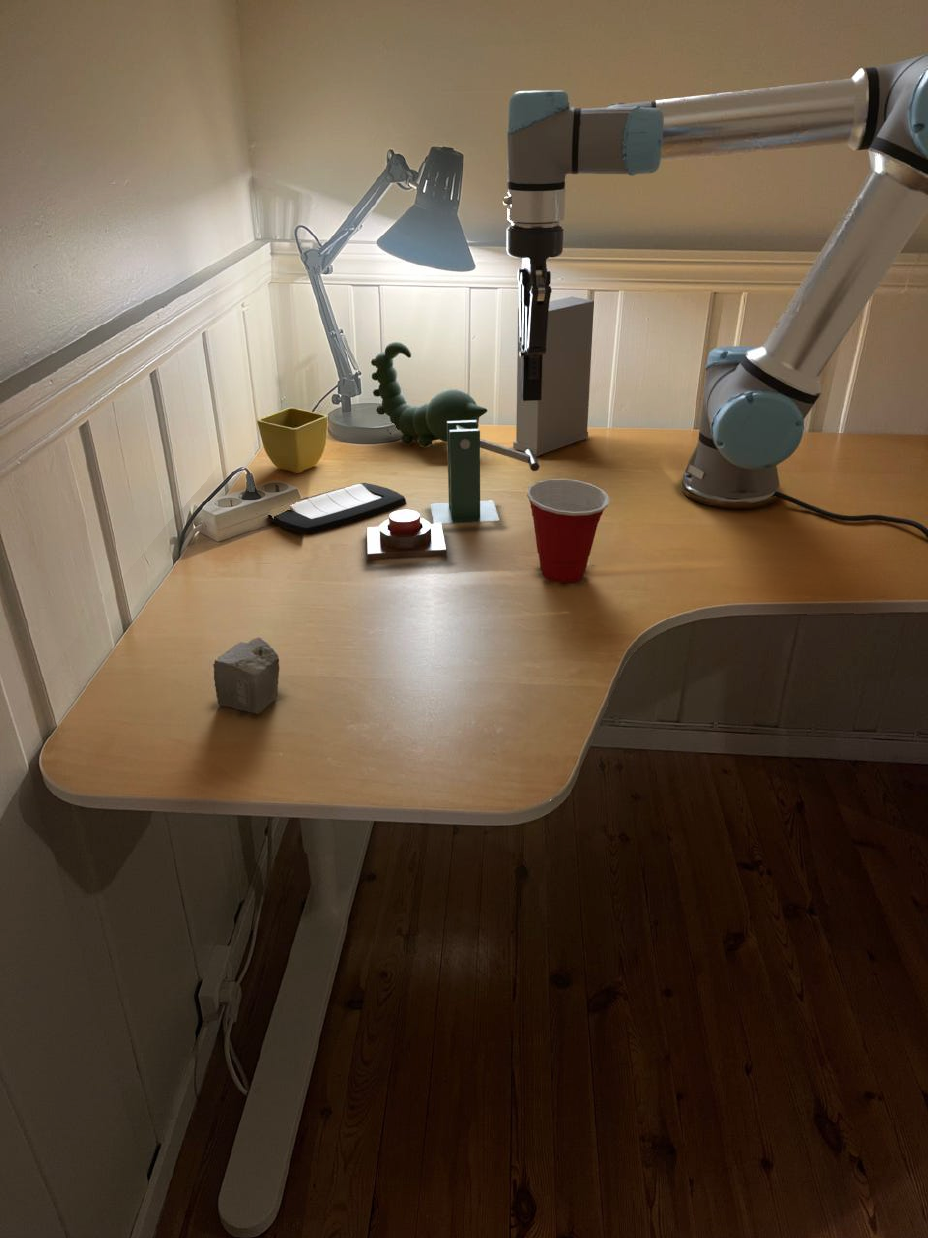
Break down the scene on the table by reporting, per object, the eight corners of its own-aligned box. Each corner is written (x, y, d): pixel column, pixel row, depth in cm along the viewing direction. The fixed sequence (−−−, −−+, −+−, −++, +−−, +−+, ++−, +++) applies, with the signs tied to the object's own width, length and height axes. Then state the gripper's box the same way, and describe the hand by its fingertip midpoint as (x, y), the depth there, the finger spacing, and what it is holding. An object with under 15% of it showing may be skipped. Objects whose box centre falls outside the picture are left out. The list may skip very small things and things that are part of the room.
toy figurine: (369, 447, 178) (474, 464, 163) (356, 345, 169) (465, 353, 155) (402, 434, 184) (506, 449, 170) (391, 335, 176) (498, 341, 161)
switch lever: (529, 461, 144) (535, 447, 143) (536, 475, 139) (542, 461, 138) (449, 435, 141) (455, 420, 140) (453, 449, 136) (459, 433, 135)
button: (419, 521, 135) (419, 508, 134) (421, 534, 131) (421, 521, 130) (389, 523, 135) (388, 510, 134) (390, 536, 131) (389, 522, 130)
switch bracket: (493, 507, 149) (493, 415, 141) (500, 527, 142) (500, 433, 134) (430, 510, 148) (427, 418, 140) (433, 531, 141) (430, 436, 133)
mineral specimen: (197, 718, 99) (194, 646, 97) (247, 691, 107) (244, 623, 104) (256, 732, 96) (254, 658, 94) (302, 703, 104) (301, 634, 102)
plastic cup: (594, 598, 122) (599, 513, 116) (514, 585, 125) (516, 502, 119) (612, 563, 131) (618, 482, 125) (537, 552, 134) (540, 472, 128)
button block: (441, 536, 139) (441, 511, 137) (447, 563, 131) (446, 537, 129) (367, 540, 138) (365, 515, 136) (368, 568, 131) (366, 542, 129)
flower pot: (333, 464, 166) (328, 414, 161) (300, 480, 160) (294, 428, 155) (295, 455, 170) (290, 406, 166) (261, 470, 164) (255, 420, 159)
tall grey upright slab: (563, 431, 180) (568, 295, 167) (587, 439, 176) (595, 300, 163) (512, 449, 172) (513, 307, 159) (536, 457, 168) (540, 313, 155)
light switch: (364, 474, 156) (413, 490, 146) (366, 490, 158) (415, 508, 148) (257, 504, 146) (303, 525, 136) (260, 522, 147) (305, 543, 137)
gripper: (500, 217, 130) (499, 386, 142) (514, 231, 119) (512, 413, 130) (554, 216, 131) (548, 384, 142) (573, 229, 119) (565, 411, 131)
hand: (531, 398), depth 136 cm, fingers closed
